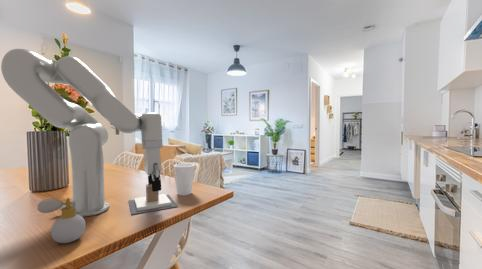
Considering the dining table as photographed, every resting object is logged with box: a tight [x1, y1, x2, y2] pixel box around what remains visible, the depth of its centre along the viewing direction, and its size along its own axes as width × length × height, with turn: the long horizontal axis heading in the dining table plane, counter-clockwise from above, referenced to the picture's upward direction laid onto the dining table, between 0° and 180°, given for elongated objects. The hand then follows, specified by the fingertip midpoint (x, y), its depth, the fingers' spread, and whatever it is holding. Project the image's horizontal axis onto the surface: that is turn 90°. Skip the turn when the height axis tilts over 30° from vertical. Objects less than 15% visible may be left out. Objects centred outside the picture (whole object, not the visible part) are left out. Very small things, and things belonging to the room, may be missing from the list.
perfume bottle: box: [37, 197, 86, 244], centre depth 60 cm, size 8×10×12 cm
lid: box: [133, 184, 171, 211], centre depth 89 cm, size 12×12×7 cm
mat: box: [128, 194, 179, 216], centre depth 89 cm, size 16×16×1 cm
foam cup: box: [173, 163, 196, 196], centre depth 103 cm, size 10×9×13 cm
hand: (154, 187), depth 89 cm, fingers open, 9 cm apart
